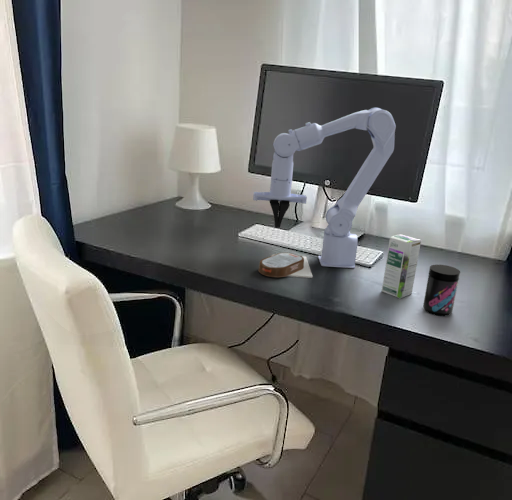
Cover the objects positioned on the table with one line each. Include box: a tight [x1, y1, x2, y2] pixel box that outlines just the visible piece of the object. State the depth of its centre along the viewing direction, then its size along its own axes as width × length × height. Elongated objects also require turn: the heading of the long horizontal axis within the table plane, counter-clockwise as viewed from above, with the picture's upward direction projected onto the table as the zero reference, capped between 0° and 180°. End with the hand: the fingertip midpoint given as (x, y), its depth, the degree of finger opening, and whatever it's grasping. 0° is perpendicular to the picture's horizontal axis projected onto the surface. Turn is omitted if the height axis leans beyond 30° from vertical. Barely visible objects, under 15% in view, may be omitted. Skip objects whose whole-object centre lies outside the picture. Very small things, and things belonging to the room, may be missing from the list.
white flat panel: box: [287, 255, 313, 279], centre depth 153 cm, size 10×16×1 cm, turn 1°
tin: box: [258, 252, 304, 278], centre depth 149 cm, size 15×3×8 cm
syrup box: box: [381, 234, 422, 300], centre depth 137 cm, size 6×6×14 cm
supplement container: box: [422, 264, 461, 317], centre depth 129 cm, size 7×7×10 cm
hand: (277, 226), depth 155 cm, fingers closed
